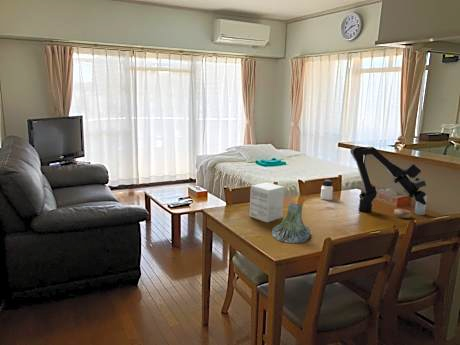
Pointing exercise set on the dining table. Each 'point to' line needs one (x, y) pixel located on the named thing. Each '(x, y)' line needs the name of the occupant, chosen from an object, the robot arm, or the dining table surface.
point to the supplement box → (266, 201)
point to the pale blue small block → (420, 207)
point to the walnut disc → (402, 213)
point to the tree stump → (292, 226)
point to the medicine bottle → (327, 190)
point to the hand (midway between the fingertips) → (423, 203)
